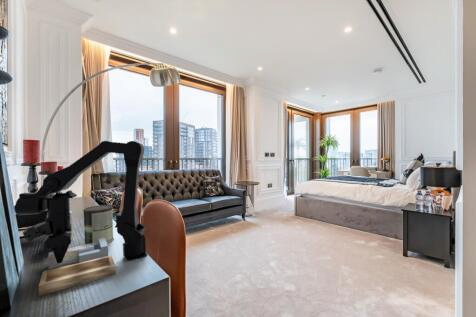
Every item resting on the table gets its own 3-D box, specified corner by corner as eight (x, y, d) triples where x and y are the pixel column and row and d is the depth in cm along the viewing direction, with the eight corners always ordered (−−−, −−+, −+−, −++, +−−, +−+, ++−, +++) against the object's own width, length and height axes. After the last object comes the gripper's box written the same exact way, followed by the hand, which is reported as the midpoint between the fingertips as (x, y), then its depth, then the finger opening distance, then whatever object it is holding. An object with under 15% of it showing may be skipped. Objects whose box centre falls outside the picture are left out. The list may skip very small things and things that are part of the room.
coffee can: (78, 247, 89) (77, 211, 89) (93, 238, 99) (92, 205, 99) (106, 245, 89) (105, 209, 89) (118, 236, 100) (117, 204, 100)
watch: (62, 245, 91) (61, 217, 91) (62, 251, 85) (61, 222, 85) (43, 249, 88) (43, 220, 88) (42, 256, 81) (41, 225, 81)
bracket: (105, 249, 86) (104, 237, 86) (108, 258, 77) (107, 245, 77) (79, 255, 81) (78, 242, 81) (79, 266, 73) (79, 251, 73)
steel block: (92, 254, 82) (92, 243, 82) (94, 257, 78) (94, 246, 78) (49, 264, 74) (48, 252, 74) (48, 269, 71) (48, 256, 71)
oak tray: (111, 263, 74) (111, 255, 74) (115, 274, 67) (115, 265, 67) (43, 280, 64) (42, 271, 64) (39, 296, 57) (38, 285, 57)
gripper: (30, 211, 77) (31, 257, 77) (18, 223, 62) (20, 281, 62) (71, 206, 83) (72, 249, 84) (70, 216, 68) (71, 268, 68)
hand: (60, 260), depth 74 cm, fingers closed on steel block, 4 cm apart
